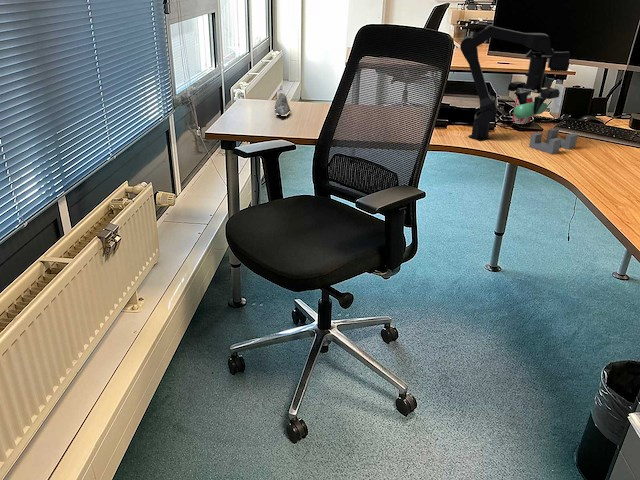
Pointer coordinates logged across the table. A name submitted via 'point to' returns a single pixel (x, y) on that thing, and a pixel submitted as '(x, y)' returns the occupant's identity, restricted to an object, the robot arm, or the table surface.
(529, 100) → the soda can
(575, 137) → the u rest
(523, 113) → the bottle
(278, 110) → the mineral rock
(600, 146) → the table surface
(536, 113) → the robot arm
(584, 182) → the table surface
